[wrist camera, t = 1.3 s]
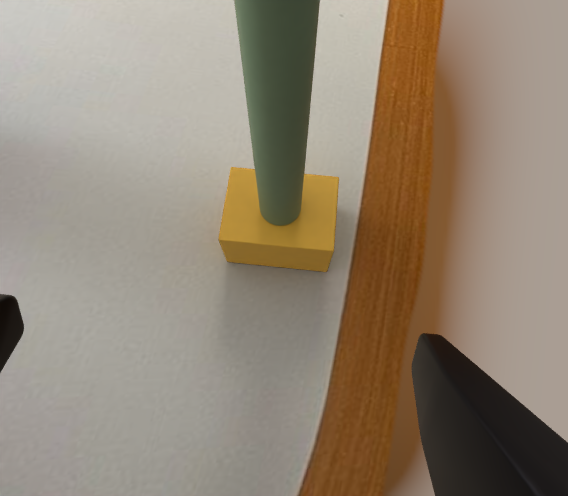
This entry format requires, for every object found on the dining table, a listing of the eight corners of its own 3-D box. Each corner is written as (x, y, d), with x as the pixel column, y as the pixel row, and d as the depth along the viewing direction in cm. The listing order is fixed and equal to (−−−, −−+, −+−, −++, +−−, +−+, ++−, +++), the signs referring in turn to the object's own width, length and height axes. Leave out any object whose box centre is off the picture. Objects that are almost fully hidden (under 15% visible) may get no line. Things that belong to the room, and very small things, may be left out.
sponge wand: (327, 272, 25) (406, 34, 9) (226, 262, 25) (127, 12, 9) (331, 205, 26) (406, -100, 10) (237, 196, 26) (168, -116, 11)
